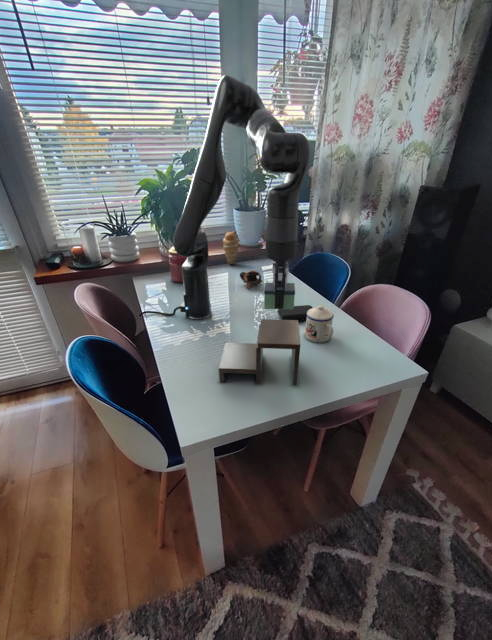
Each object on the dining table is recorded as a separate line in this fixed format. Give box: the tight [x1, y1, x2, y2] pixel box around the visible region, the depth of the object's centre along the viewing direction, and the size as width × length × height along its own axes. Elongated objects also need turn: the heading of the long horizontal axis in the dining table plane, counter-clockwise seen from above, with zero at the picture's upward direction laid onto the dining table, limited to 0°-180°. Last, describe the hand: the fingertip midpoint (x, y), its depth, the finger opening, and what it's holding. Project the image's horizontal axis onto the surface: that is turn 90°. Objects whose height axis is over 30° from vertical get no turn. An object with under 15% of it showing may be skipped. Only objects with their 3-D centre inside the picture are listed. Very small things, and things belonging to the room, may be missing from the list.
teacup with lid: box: [304, 304, 335, 343], centre depth 110 cm, size 12×9×12 cm
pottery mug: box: [239, 270, 263, 290], centre depth 154 cm, size 12×10×8 cm
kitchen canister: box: [167, 245, 187, 283], centre depth 159 cm, size 13×13×18 cm
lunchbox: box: [263, 282, 296, 310], centre depth 84 cm, size 8×6×5 cm
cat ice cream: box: [222, 229, 240, 265], centre depth 178 cm, size 9×8×18 cm
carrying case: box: [277, 304, 314, 322], centre depth 126 cm, size 11×3×15 cm
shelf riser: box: [218, 318, 301, 386], centre depth 94 cm, size 22×14×14 cm, turn 86°
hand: (279, 302), depth 85 cm, fingers closed on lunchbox, 5 cm apart
